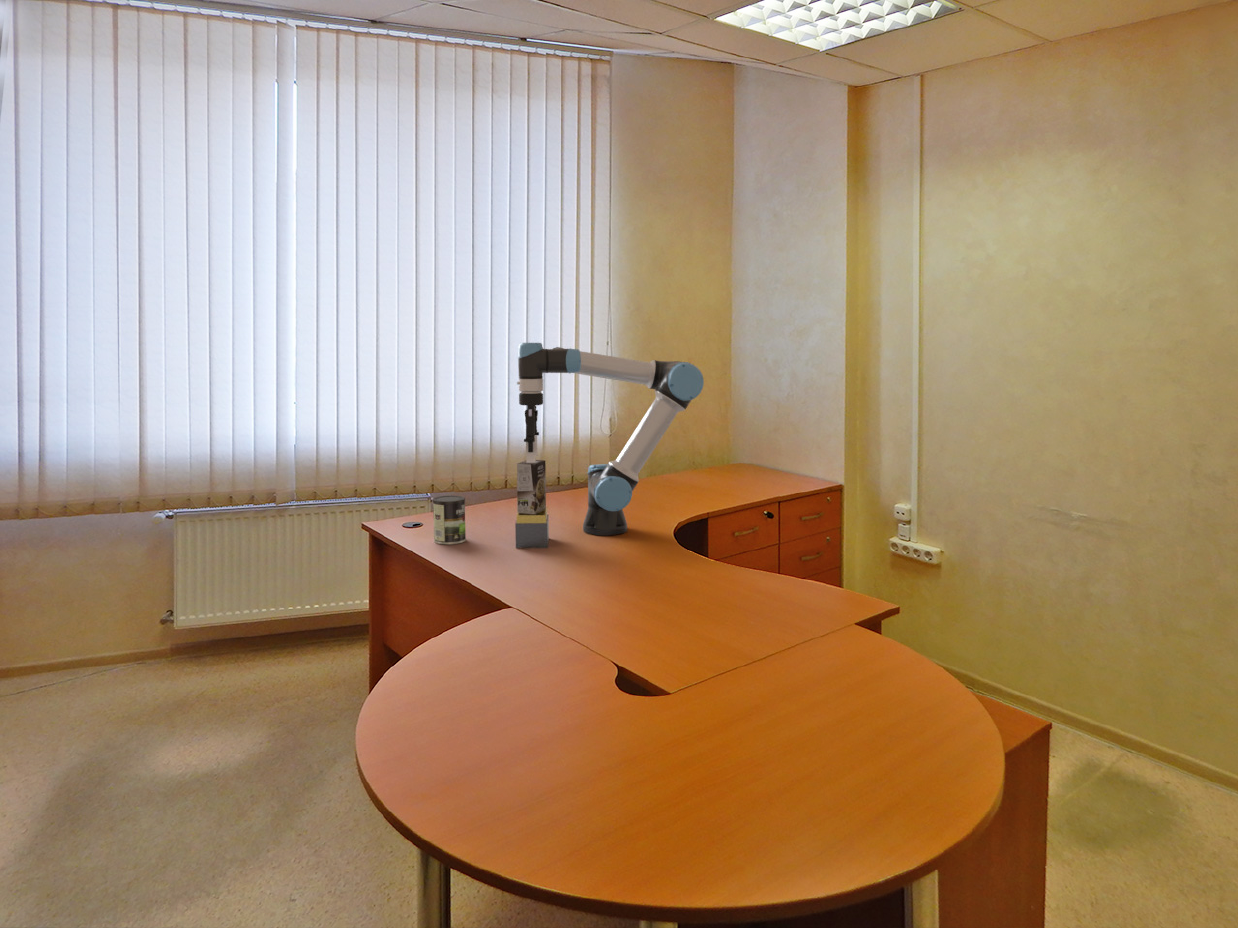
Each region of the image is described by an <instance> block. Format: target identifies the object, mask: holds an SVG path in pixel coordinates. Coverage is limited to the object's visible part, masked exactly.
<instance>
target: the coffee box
mask: <svg viewBox="0 0 1238 928" xmlns="http://www.w3.org/2000/svg"><path fill="white" fill-rule="evenodd" d="M546 468H547V467H546V460H542V459H535V463H527V460H524V461H520V462H517V463H516V485H517V486H516V489H517V490H516V492H517V493H516V497H517V498H516V499H517V500H516V502H517V503H516V504H517V507H516V509H517V511H516V514H517V513H523V514H537V513H539V512H541V511H543V510H545V509H546V507H547V488H546V484H547V483H546V481H547V480H546V479H547V478H546V472H547V471H546Z"/></svg>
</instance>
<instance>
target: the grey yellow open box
mask: <svg viewBox="0 0 1238 928" xmlns="http://www.w3.org/2000/svg"><path fill="white" fill-rule="evenodd" d="M549 522H550V519H549V514H548V506H546V509H545V510H543V511H541V512H539V513H537V514H523V513H517V512H516V520H515V524H514V526H515V527H514V529H515V530H514V531H515V549H548V545H549V539H550V538H549V537H550V533H549V532H550V530H549V529H550V527H549Z"/></svg>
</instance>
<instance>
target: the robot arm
mask: <svg viewBox="0 0 1238 928" xmlns="http://www.w3.org/2000/svg"><path fill="white" fill-rule="evenodd" d="M517 352H518V353H517V356H518V357H517V363H518V381H517V382H516V385H517V386H518V391H519V394H518V403H519V405H520V406H526V408H527V409H525V411H524V419H525V425H526V426H525V427H526V428H525V431H526V433H525V438H524V439H523V442H524V443H525V445H526V446H525V450H526V451H525V452H526V453H525V454H526V457H525V458H526V460H525V461H527V463H535V460H536V457H537V456H538V436H540V432H539V431H538V429H537V428H538V426H537V425H538V423H537V422H538V416H539V415H538V414H539V412H538V411H539V410H537V406H542V405H543V404H544V394H543V391H544V377H543V375H544V374H577V375H582V376H583V375H584V376H588V377H596V378H601V379H608V380H611V381H612V380H613V381H620V382H626V383H633V384H638V385H644V386H646V387H647V389H649V390H650V389H651V390H654V394H655V395H654V396H655V398H654V400H653V401H652V403H651V405H650V406H649V408H648V409H647V411H646V413H645V414H644V416H643V417H642V419H641V420H640V421H639V423H638V425H637V426H636V428H635V429H634V431H633V432H632V434H631V436H630V438H629V439H628V440H627V442H626V443H625V445H624V446H623V448H622V450H621V451H620V452H619V453H618V456H617V458H616V459H615V460H612V461H611V460H610V461H608V463H605V464H604V463H602V464H599V463H598V464H597V463H596V464H591V465H589V466H588V468H587V469H588V470H587V480H588V481H587V482H588V483H587V485H588V486H587V500H588V501H587V502H588V504H587V505H588V506H587V512H586V513H585V518H584V521H583V523H582V531H583V532H584V533H585V534H588V535H595V536H615V535H616V536H617V535H621V534H625V533H626V532H628V521H627V520H626V516H625V513H624V511H623V509H625V508H626V507H627V506H628V505H629V503H630V502H631V501H632V497H633V492H634V489H635V488H636V487H637V486H638V484H639V481H640V480H639V473H640V472H641V470H642V468H643V467H644V466H645V464H646V463H647V461H648V459H649V458H650V457H651V455H652V453H653V452H654V451H655V448H656V447H657V445H658V444H659V443H660V441H661V439H662V438H663V436H664V435H665V434H666V432H667V430H668V428H669V427H670V425H671V424H672V423H673V421H674V420H675V418H676V416H677V415H678V413H680V412H684V411H686V409H687V408H688V406H690V403H691V401H692V400H694V399H697V397H699V395H700V394H701V393H702V391H703V389H704V386H705V385H704V384H705V383H704V382H705V381H704V375H703V373H702V371H701V370H700V368H698V367H697V366H696V365H695V364H692V363H691V362H689V361H688V362H687V361H680V360H673V361H672V360H670V361H667V360H665V361H664V360H655V359H653V360H650V362H649V361H644V360H635V359H630V358H625V357H617V356H612V355H605V354H600V353H599V354H598V353H594V352H593V353H592V352H587V351H581V350H580V349H578V348H571V347H570V348H563V347H560V346H556V347H553V348H544V347H543V344H542V342H521V343H520V344H519V345H518V351H517Z"/></svg>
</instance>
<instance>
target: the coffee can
mask: <svg viewBox="0 0 1238 928" xmlns="http://www.w3.org/2000/svg"><path fill="white" fill-rule="evenodd" d="M432 506H433V507H432V509H433V511H432V513H433V535H434V536H433V537H434V541H433V542H434V543H435V544H438V545H458V544H461V543H464V542H466V541H467V539H466V538H467V537H466V535H467V534H466V497H464V496H461V495H441V496H436V497H434V498H432Z"/></svg>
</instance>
